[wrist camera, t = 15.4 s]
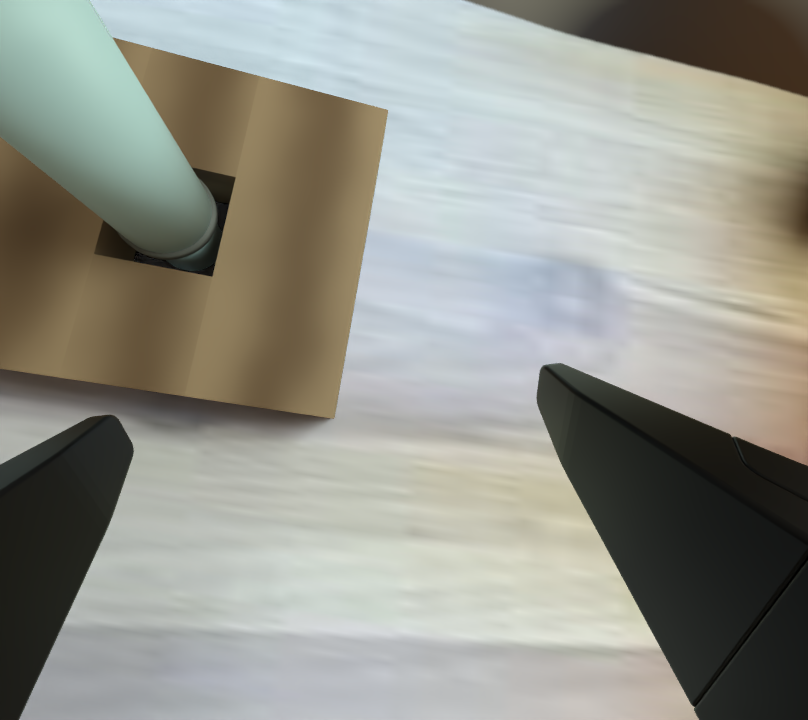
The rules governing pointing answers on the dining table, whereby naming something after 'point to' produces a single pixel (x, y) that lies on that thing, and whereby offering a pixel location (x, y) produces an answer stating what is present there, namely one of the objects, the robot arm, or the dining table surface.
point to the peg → (100, 131)
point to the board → (236, 261)
